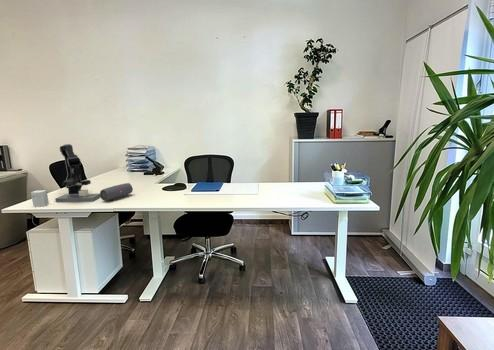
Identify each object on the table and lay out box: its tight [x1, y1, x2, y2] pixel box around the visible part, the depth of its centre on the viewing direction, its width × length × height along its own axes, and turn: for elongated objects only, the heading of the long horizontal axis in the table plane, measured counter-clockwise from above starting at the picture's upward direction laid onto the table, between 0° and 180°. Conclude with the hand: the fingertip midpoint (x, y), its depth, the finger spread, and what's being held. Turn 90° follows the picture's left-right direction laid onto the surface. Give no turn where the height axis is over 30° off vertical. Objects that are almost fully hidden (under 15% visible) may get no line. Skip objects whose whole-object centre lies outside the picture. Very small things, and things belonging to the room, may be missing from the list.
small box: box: [30, 189, 50, 207], centre depth 220 cm, size 8×6×10 cm
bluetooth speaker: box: [99, 182, 134, 202], centre depth 232 cm, size 23×9×10 cm, turn 151°
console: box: [54, 192, 101, 203], centre depth 232 cm, size 12×28×3 cm, turn 87°
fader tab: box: [79, 189, 90, 196], centre depth 231 cm, size 4×5×4 cm
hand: (78, 193), depth 231 cm, fingers closed
